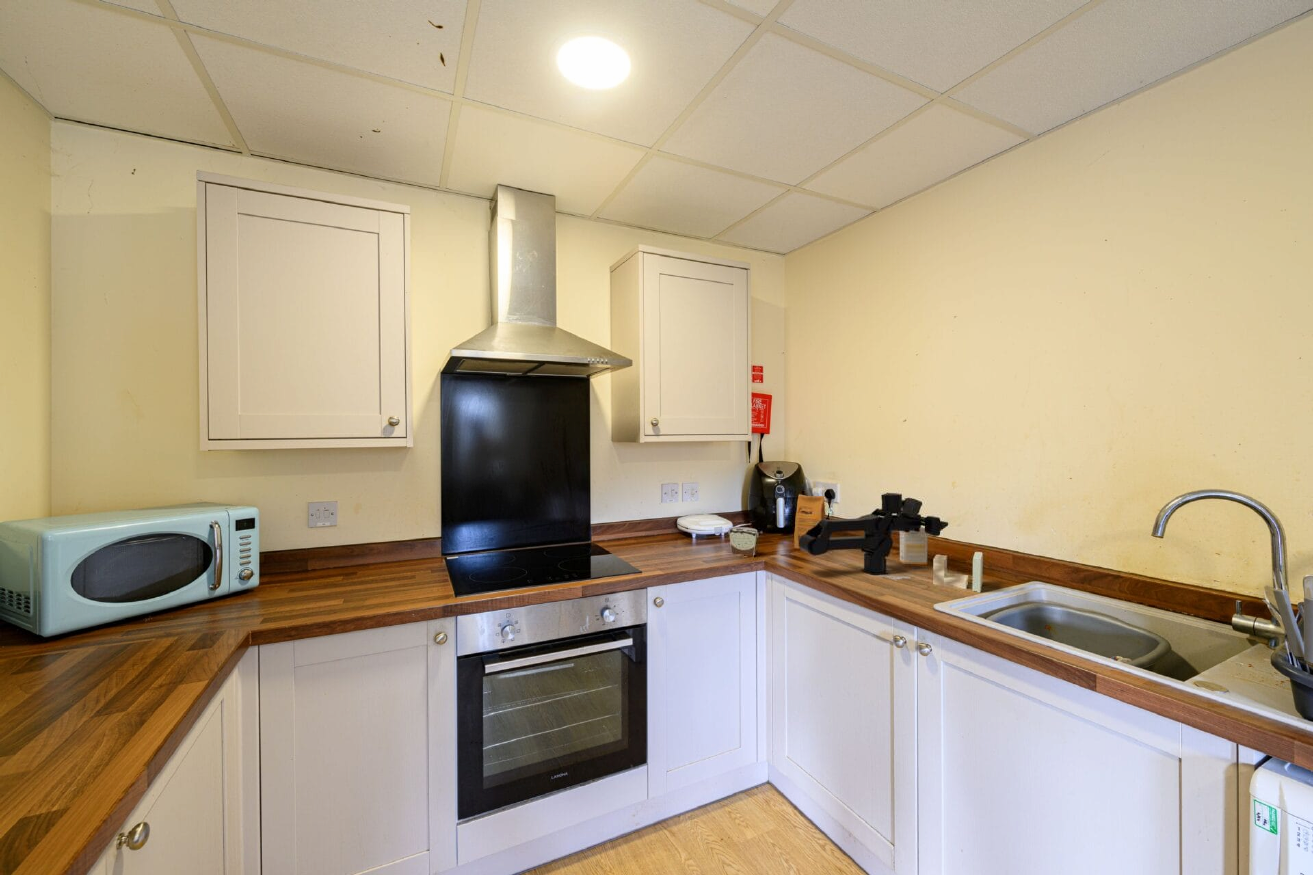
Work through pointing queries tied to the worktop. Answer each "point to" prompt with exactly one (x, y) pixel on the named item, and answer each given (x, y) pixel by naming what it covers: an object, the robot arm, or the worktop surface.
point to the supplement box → (913, 547)
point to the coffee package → (808, 515)
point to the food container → (743, 540)
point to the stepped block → (947, 574)
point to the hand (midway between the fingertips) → (937, 521)
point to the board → (977, 571)
